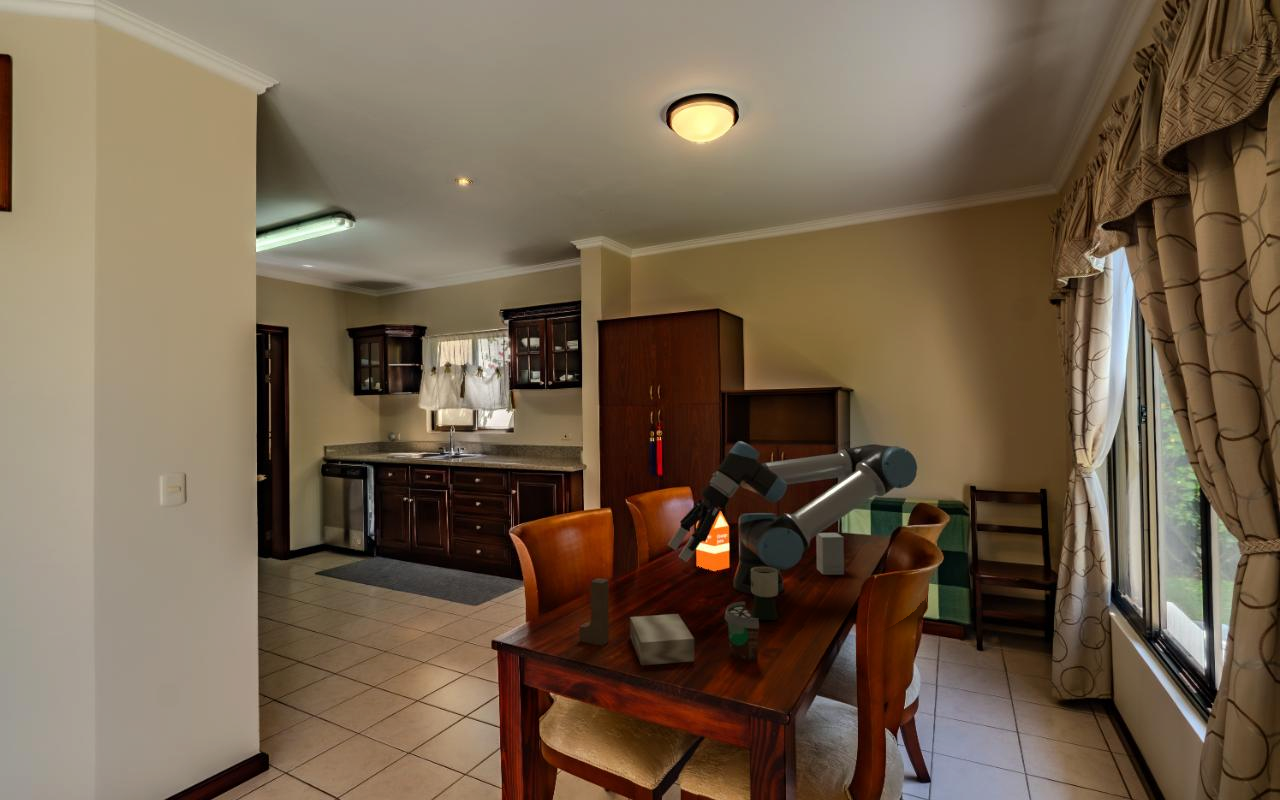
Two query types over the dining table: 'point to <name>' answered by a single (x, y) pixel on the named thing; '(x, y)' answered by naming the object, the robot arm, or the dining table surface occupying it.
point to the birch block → (661, 639)
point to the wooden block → (597, 615)
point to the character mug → (764, 592)
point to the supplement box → (830, 553)
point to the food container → (742, 632)
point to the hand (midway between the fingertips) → (676, 553)
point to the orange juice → (715, 546)
